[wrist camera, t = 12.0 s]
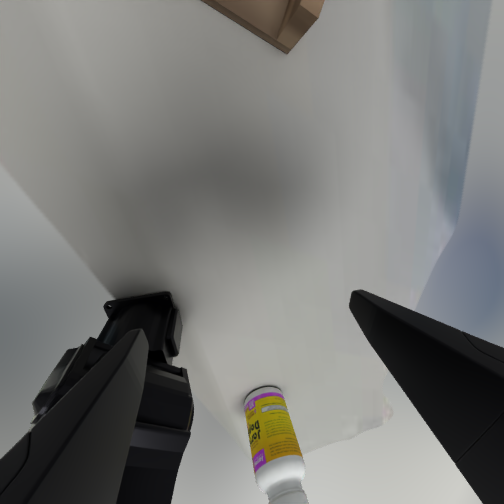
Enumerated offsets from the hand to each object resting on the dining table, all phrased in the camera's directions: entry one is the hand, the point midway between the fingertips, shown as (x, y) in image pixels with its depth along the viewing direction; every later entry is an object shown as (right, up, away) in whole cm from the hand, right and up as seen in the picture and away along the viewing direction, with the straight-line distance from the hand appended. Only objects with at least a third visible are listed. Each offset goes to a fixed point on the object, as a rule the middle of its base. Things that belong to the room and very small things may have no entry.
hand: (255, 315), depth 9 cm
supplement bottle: (+2, -22, +26) cm, 34 cm away
